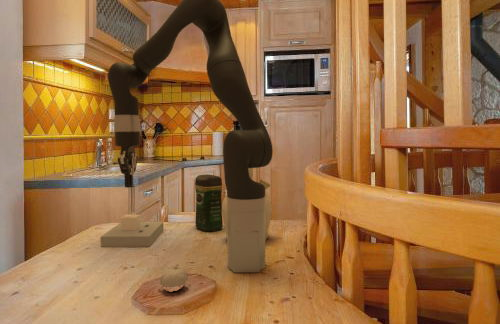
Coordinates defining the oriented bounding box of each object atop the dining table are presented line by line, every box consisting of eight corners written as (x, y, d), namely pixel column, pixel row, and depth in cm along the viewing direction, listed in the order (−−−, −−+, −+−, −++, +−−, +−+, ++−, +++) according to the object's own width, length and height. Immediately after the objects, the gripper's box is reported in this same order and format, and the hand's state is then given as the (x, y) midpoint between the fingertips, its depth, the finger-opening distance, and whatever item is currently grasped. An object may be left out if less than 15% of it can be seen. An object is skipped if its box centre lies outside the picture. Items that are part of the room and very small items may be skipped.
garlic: (176, 282, 85) (176, 259, 85) (193, 288, 82) (193, 264, 81) (154, 291, 81) (153, 266, 80) (171, 298, 77) (170, 272, 77)
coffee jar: (226, 229, 132) (226, 175, 130) (206, 233, 127) (205, 176, 125) (211, 224, 139) (211, 172, 138) (192, 227, 135) (191, 174, 133)
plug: (136, 238, 119) (135, 217, 118) (121, 238, 119) (121, 217, 118) (140, 234, 123) (139, 214, 123) (126, 234, 123) (125, 214, 123)
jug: (272, 232, 127) (272, 156, 125) (270, 246, 112) (270, 159, 110) (226, 231, 129) (225, 156, 127) (218, 245, 113) (217, 159, 111)
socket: (149, 246, 112) (149, 234, 112) (101, 246, 112) (100, 234, 112) (163, 230, 130) (163, 220, 130) (121, 231, 130) (121, 220, 130)
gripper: (133, 130, 112) (135, 189, 113) (145, 130, 125) (146, 184, 126) (107, 130, 112) (109, 190, 113) (121, 131, 125) (123, 184, 126)
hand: (129, 187), depth 120 cm, fingers closed
